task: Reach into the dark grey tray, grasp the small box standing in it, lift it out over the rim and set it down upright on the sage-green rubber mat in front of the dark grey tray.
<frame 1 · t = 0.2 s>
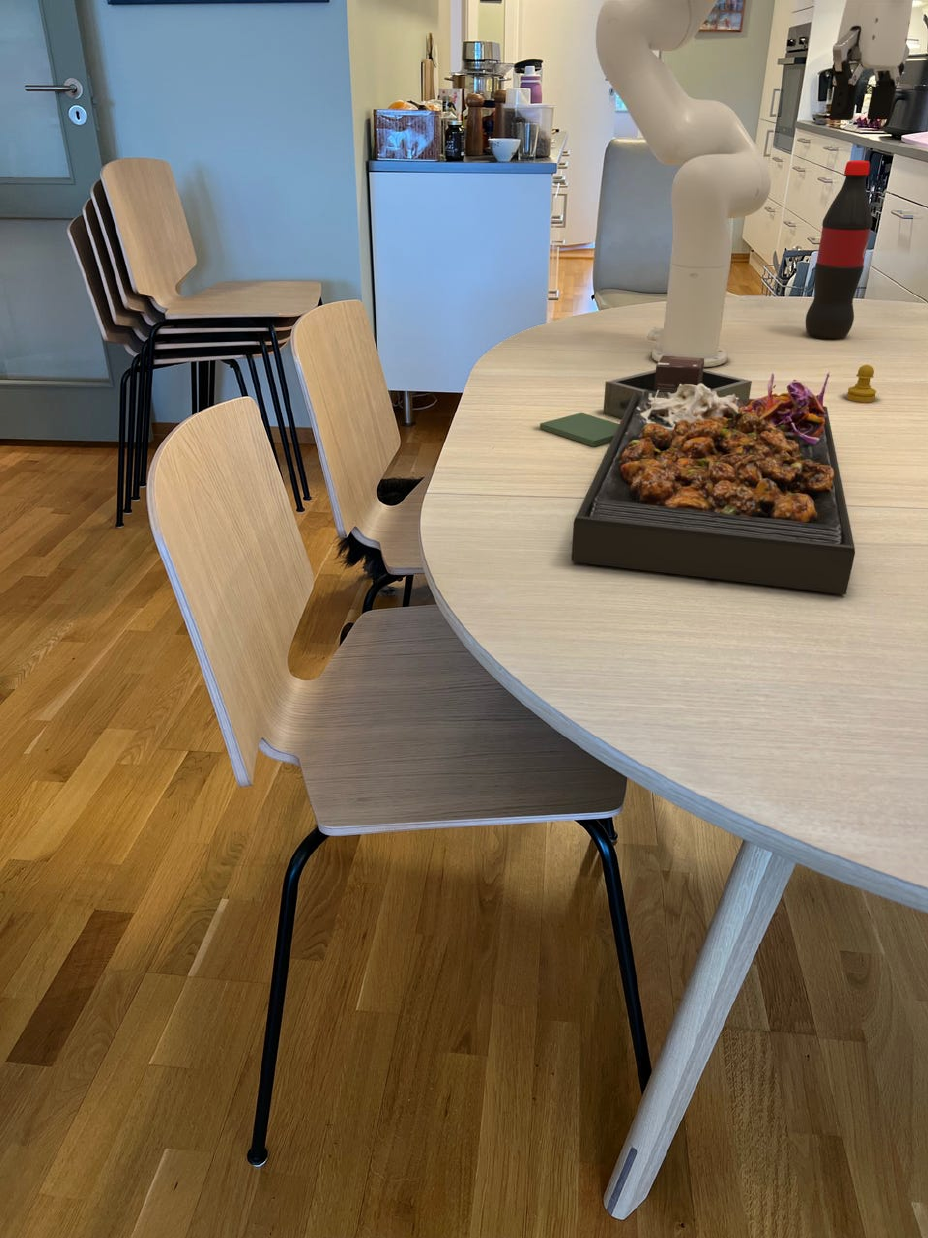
hand: (859, 119, 125), 37 cm above the table, tool pointing down, fingers open, 9 cm apart
chess piece: (860, 399, 137), on the table
cola bottle: (826, 337, 175), on the table
box: (675, 414, 131), resting in dark grey tray
dark grey tray: (675, 412, 131), on the table
food platter: (715, 493, 103), on the table, touching dark grey tray, mat
mat: (587, 431, 123), on the table
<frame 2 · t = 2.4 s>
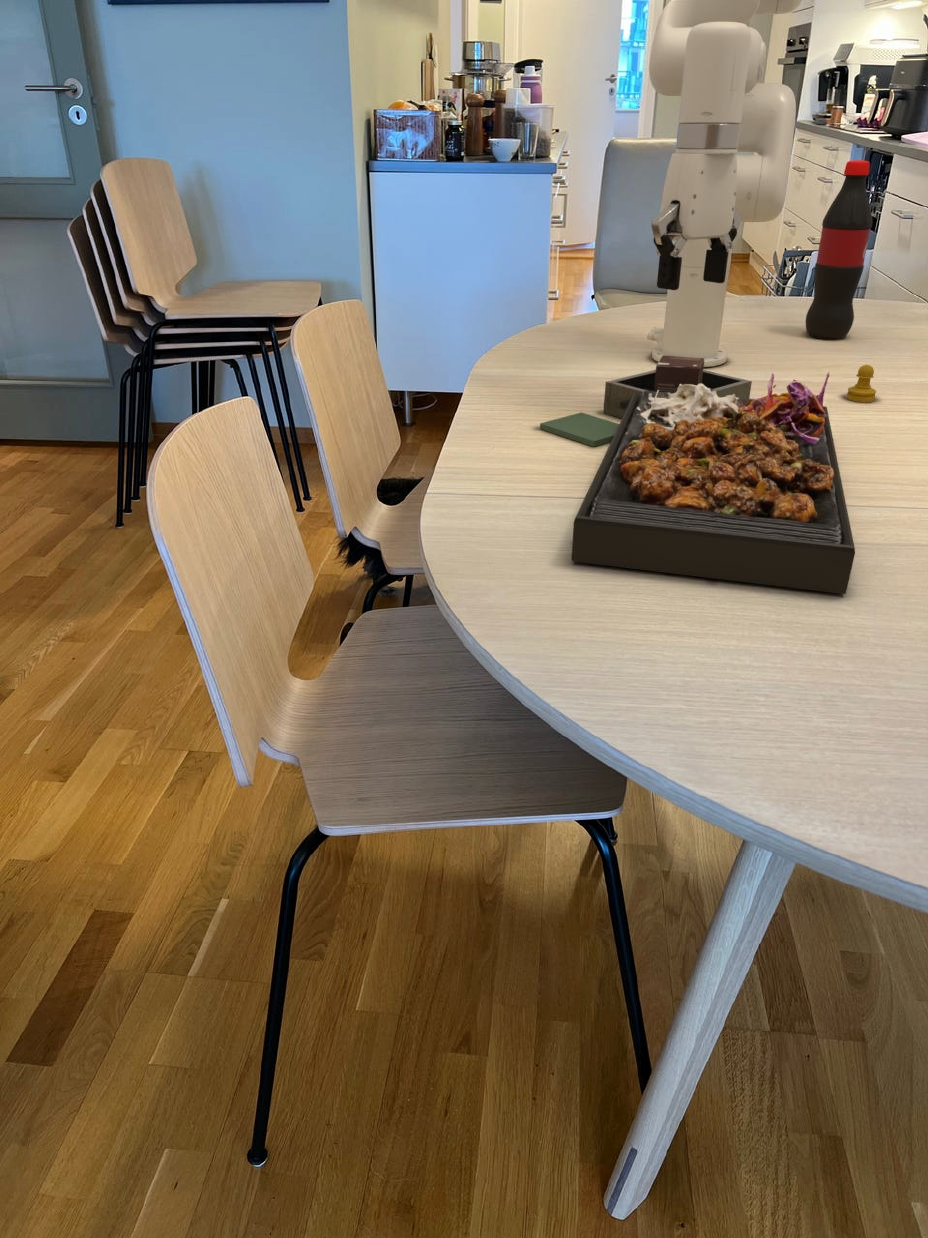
hand: (691, 285, 122), 17 cm above the table, tool pointing down, fingers open, 9 cm apart
nothing on the table moved.
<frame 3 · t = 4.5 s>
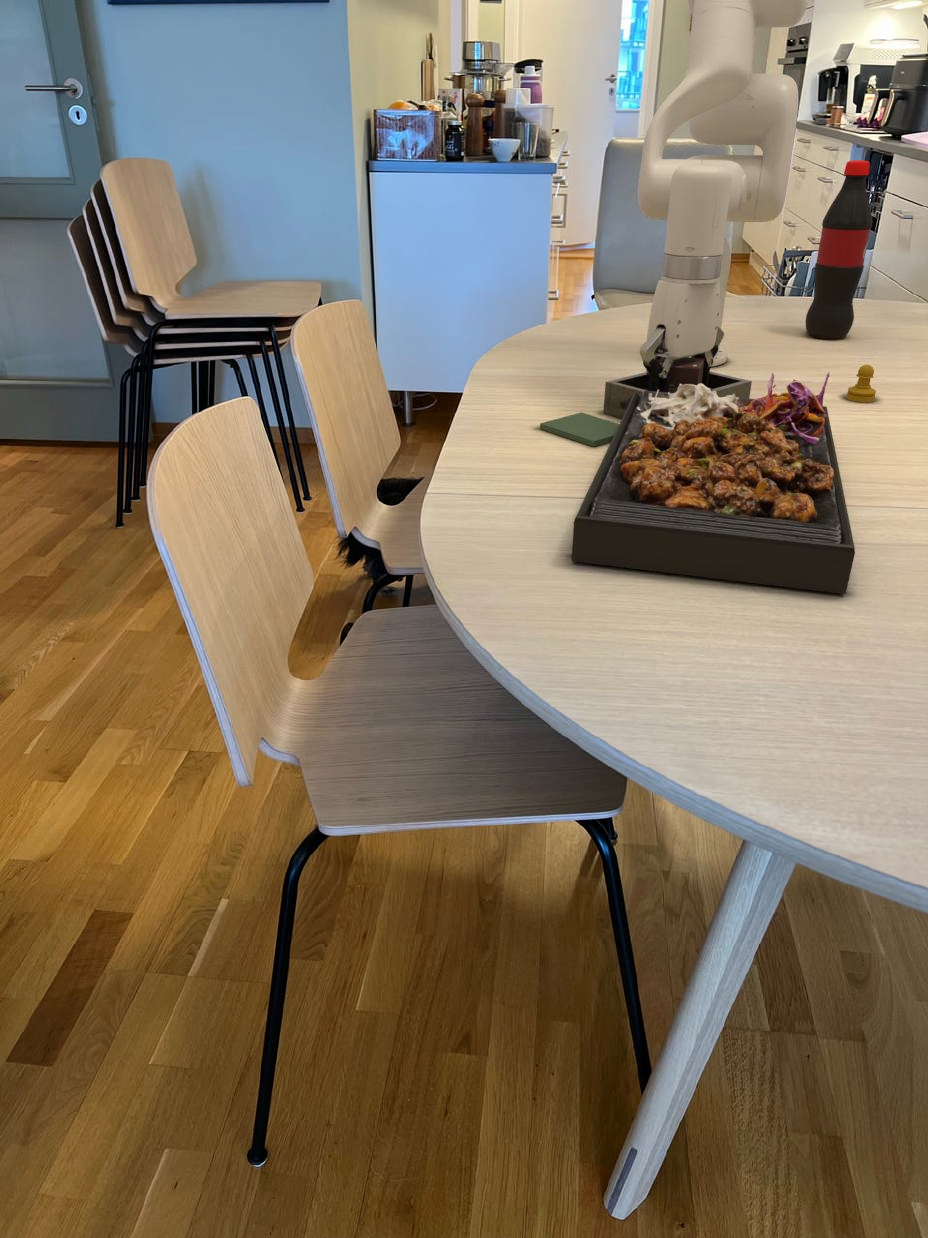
hand: (676, 398, 130), 2 cm above the table, tool pointing down, fingers closed on box, 8 cm apart
box: (675, 414, 131), resting in dark grey tray, touching gripper
everything else where it was.
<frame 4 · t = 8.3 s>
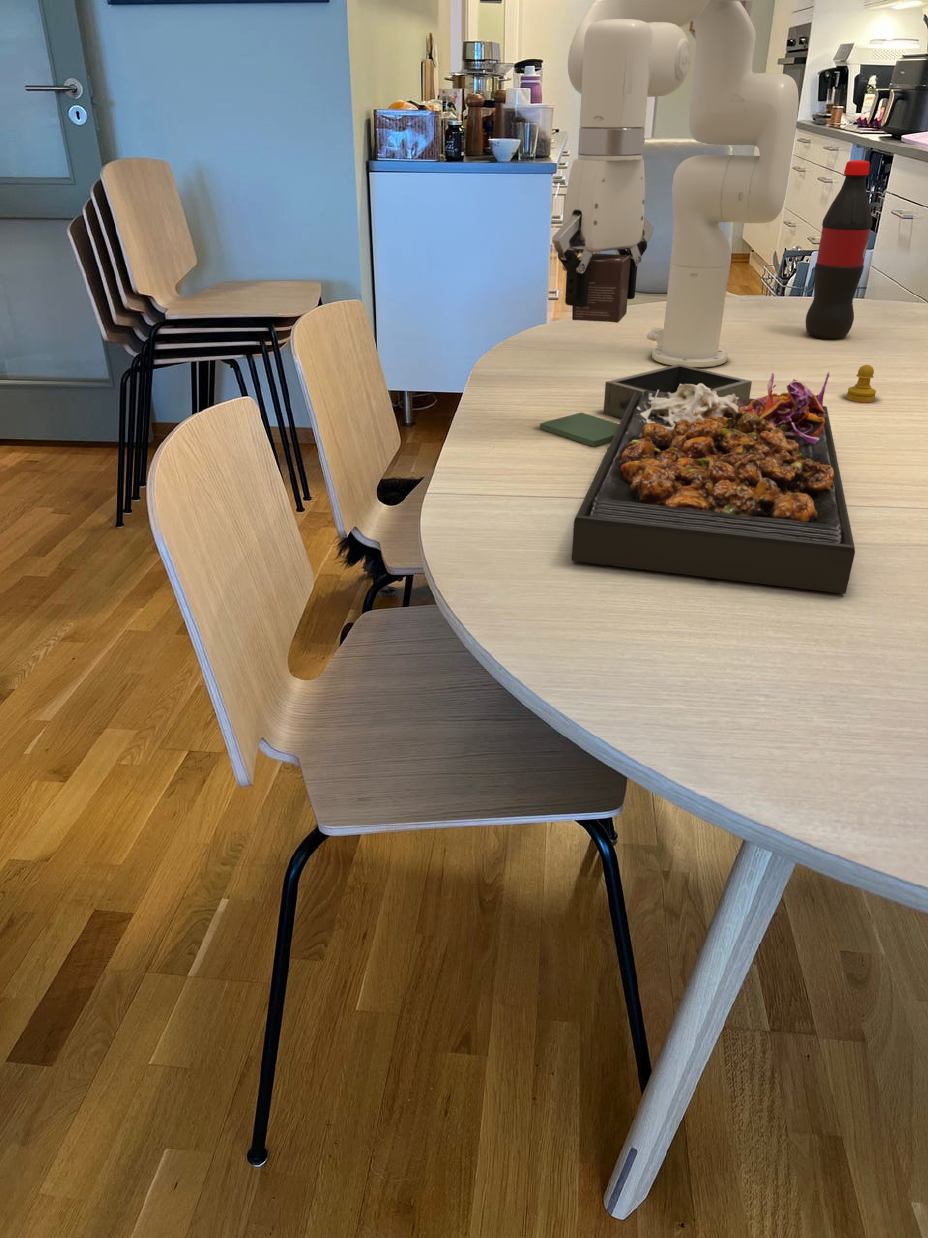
hand: (600, 300, 116), 17 cm above the table, tool pointing down, fingers closed on box, 8 cm apart
box: (599, 319, 117), point 15 cm above the table, touching gripper
everything else where it was.
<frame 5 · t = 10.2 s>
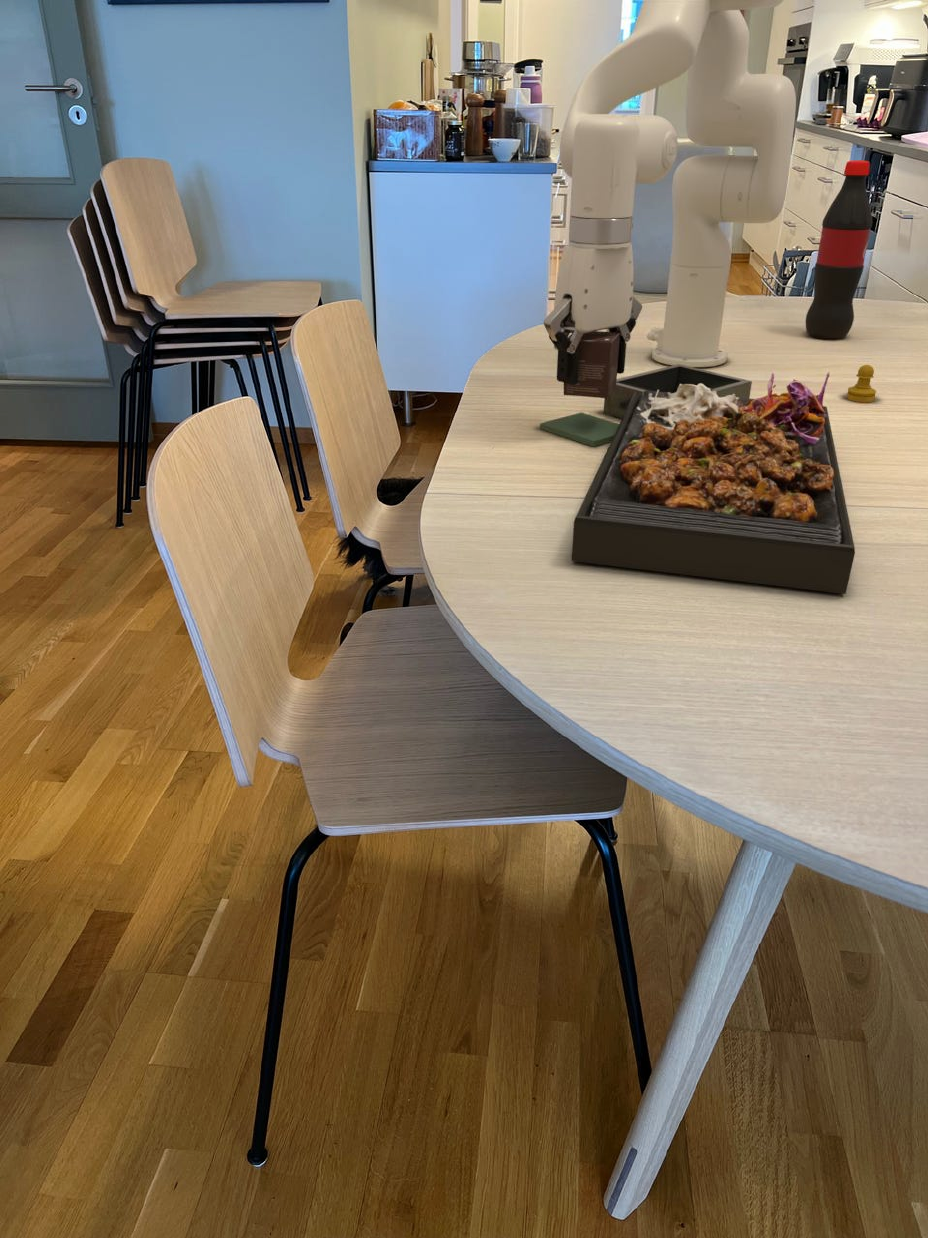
hand: (590, 376, 120), 7 cm above the table, tool pointing down, fingers closed on box, 8 cm apart
box: (589, 393, 121), point 5 cm above the table, touching gripper
everything else where it was.
when the fingers open (3 cm above the table, at t = 12.0 s): box stays where it is, resting on mat.
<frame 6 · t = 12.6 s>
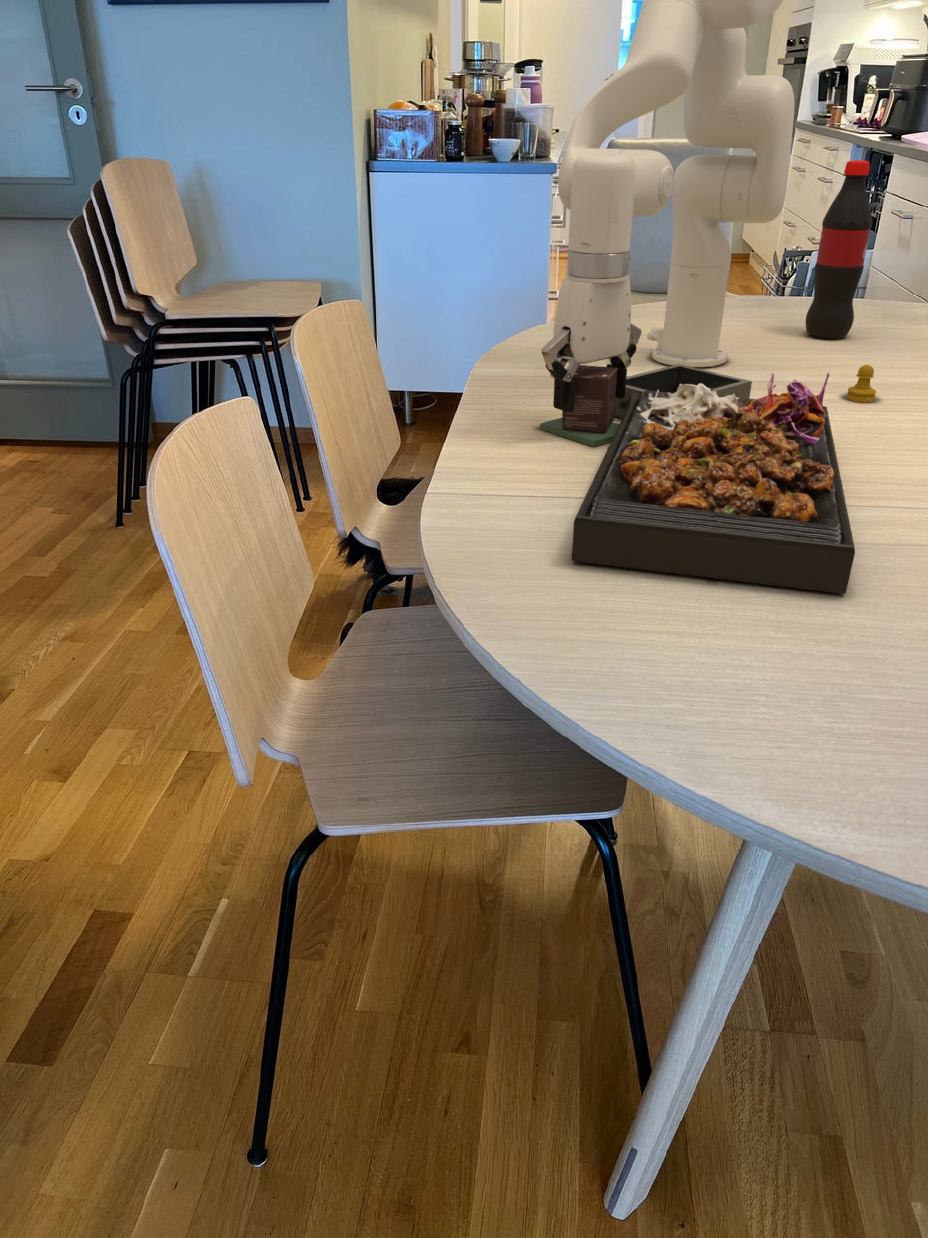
hand: (589, 402, 122), 4 cm above the table, tool pointing down, fingers open, 9 cm apart
box: (587, 427, 123), point 1 cm above the table, touching mat
everything else where it was.
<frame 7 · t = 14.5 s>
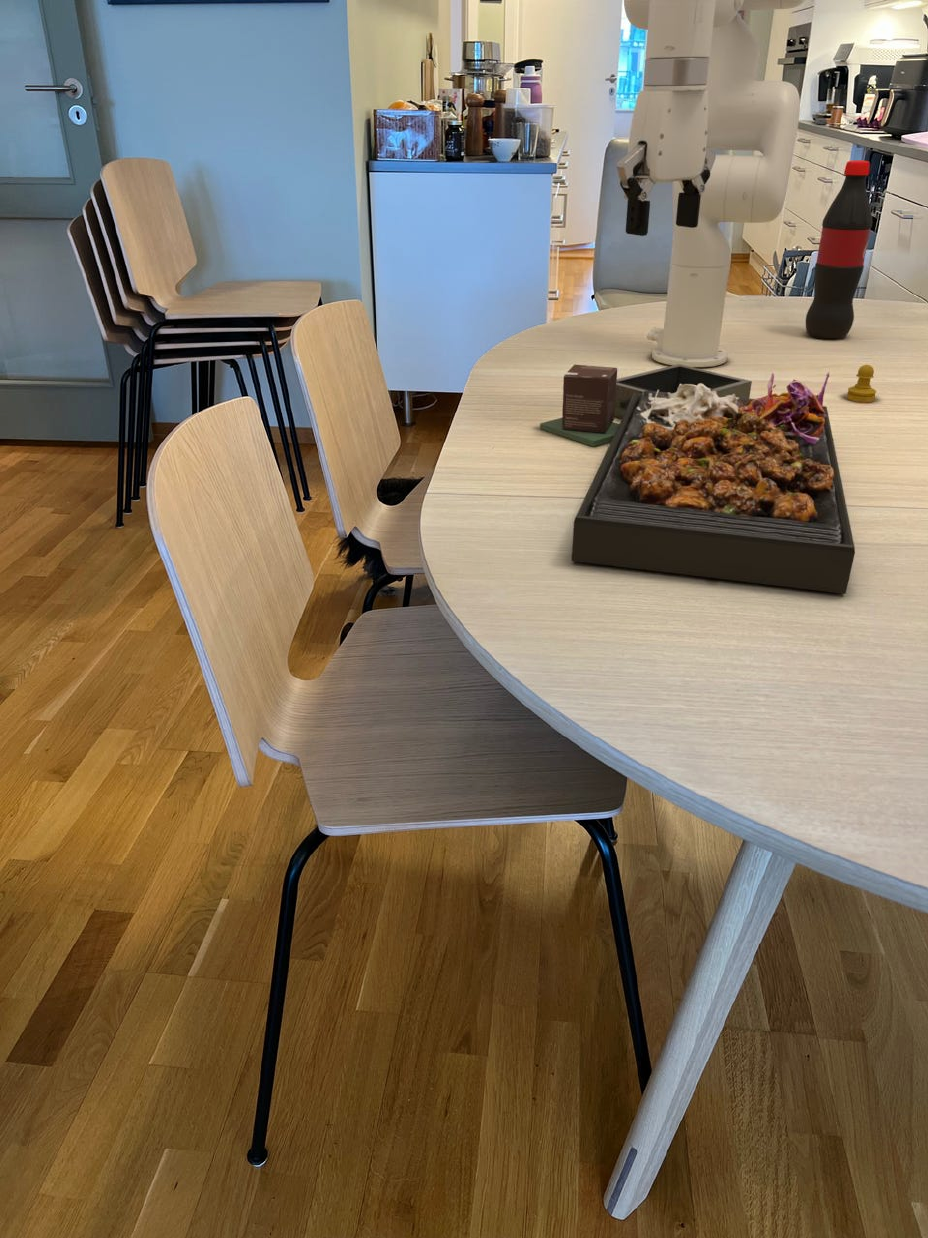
hand: (661, 230, 119), 24 cm above the table, tool pointing down, fingers open, 9 cm apart
nothing on the table moved.
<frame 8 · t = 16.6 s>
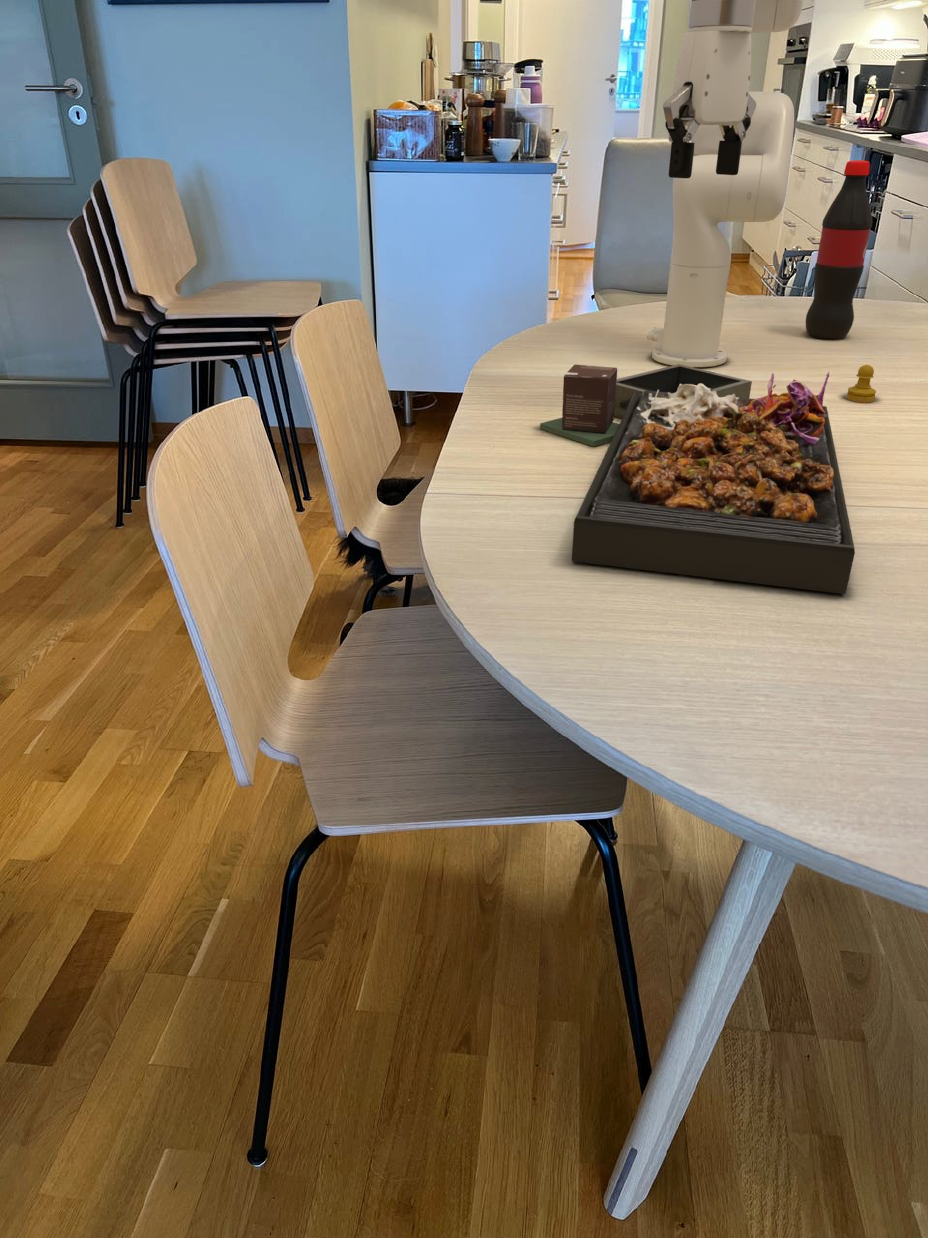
hand: (703, 175, 119), 30 cm above the table, tool pointing down, fingers open, 9 cm apart
nothing on the table moved.
at the end: box inside the target area on the mat (0.1 cm from its centre), point 0.6 cm above the mat's base; box tilted 0°; the gripper is holding nothing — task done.
